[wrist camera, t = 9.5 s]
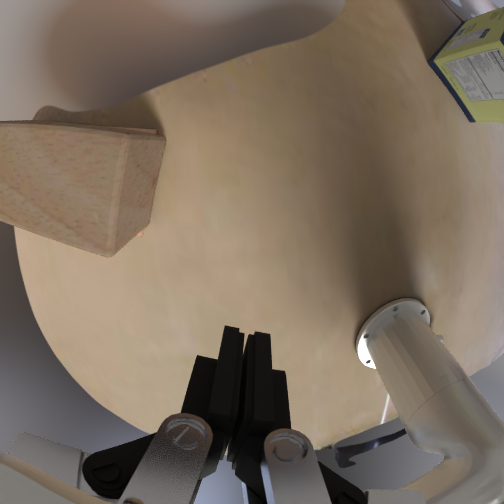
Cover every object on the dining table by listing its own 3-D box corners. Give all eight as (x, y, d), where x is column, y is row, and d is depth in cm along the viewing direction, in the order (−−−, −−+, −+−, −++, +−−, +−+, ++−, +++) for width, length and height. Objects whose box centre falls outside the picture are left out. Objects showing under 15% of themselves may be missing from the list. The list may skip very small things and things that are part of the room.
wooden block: (169, 136, 26) (36, 120, 23) (130, 132, 16) (-18, 122, 14) (150, 225, 29) (27, 193, 27) (111, 261, 20) (-24, 212, 18)
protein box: (499, 72, 21) (567, 68, 6) (469, 124, 25) (555, 130, 10) (462, 20, 18) (527, -2, 4) (425, 62, 22) (510, 37, 8)
